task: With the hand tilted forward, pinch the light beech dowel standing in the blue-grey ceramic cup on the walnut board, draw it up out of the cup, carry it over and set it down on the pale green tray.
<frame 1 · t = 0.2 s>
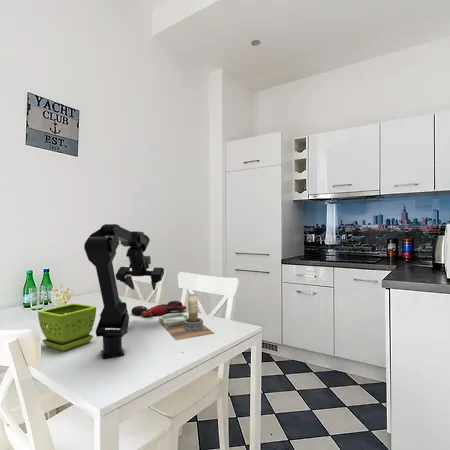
hand: (143, 289, 131), 15 cm above the table, tool tilted 30°, fingers open, 9 cm apart
stand: (186, 331, 122), on the table
flower pot: (67, 345, 109), on the table
dowel: (193, 328, 122), point 1 cm above the table, touching stand
ball: (113, 313, 148), on the table
toy motorcycle: (160, 314, 148), on the table
decorative stone: (76, 329, 127), on the table
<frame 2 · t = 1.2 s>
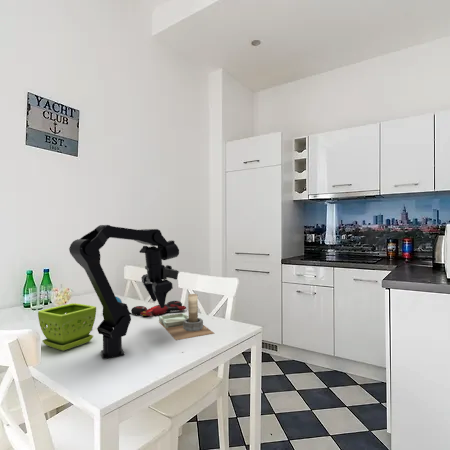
hand: (158, 304, 115), 12 cm above the table, tool pointing down, fingers open, 9 cm apart
nothing on the table moved.
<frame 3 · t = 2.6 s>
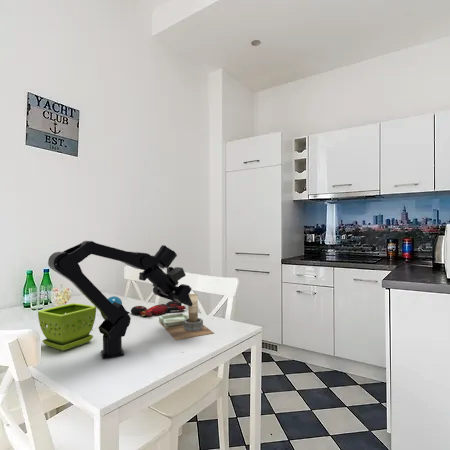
hand: (184, 303, 120), 11 cm above the table, tool tilted 45°, fingers open, 9 cm apart
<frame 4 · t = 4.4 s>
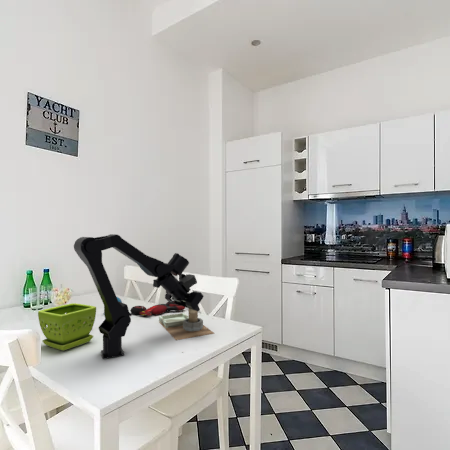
hand: (195, 309, 123), 8 cm above the table, tool tilted 45°, fingers closed on dowel, 4 cm apart
dowel: (193, 328, 122), point 1 cm above the table, touching gripper, stand
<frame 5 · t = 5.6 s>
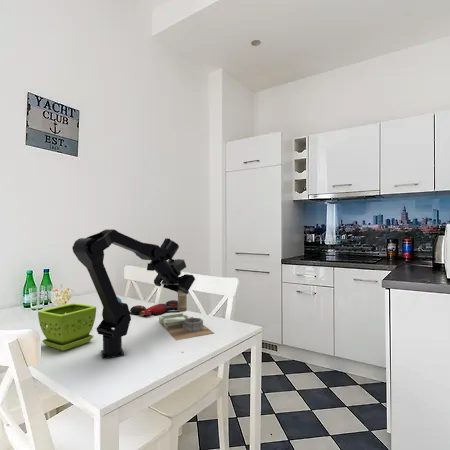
hand: (184, 292, 129), 14 cm above the table, tool tilted 45°, fingers closed on dowel, 4 cm apart
dowel: (182, 310, 128), point 6 cm above the table, touching gripper
when the fingers open (10 cm above the table, at t = 6.8 s): dowel stays where it is, resting on stand.
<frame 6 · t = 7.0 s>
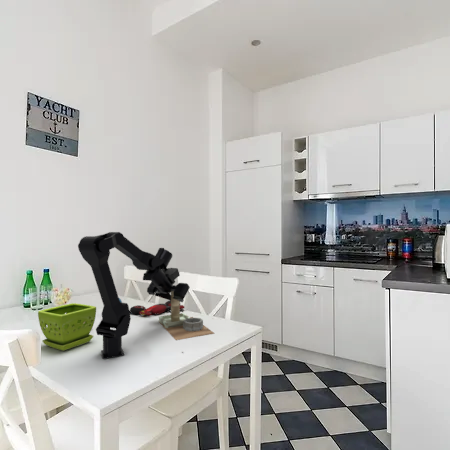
hand: (177, 300, 131), 10 cm above the table, tool tilted 45°, fingers open, 6 cm apart
dowel: (175, 320, 130), point 2 cm above the table, touching stand
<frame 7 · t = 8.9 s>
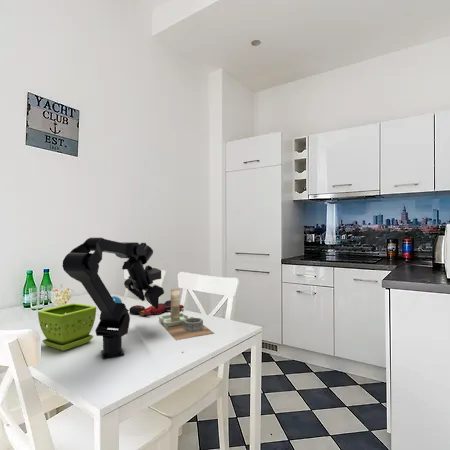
hand: (150, 304, 122), 11 cm above the table, tool tilted 30°, fingers open, 9 cm apart
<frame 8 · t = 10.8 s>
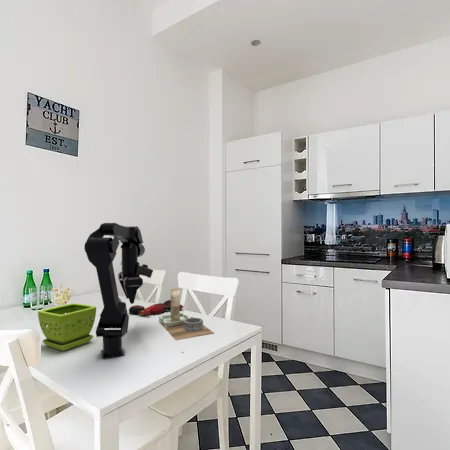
hand: (130, 300, 118), 13 cm above the table, tool pointing down, fingers open, 9 cm apart
at the end: dowel inside the target area on the stand (0.0 cm from its centre), point 1.6 cm above the stand's base; the gripper is holding nothing; dowel moved 11.2 cm from its start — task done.
